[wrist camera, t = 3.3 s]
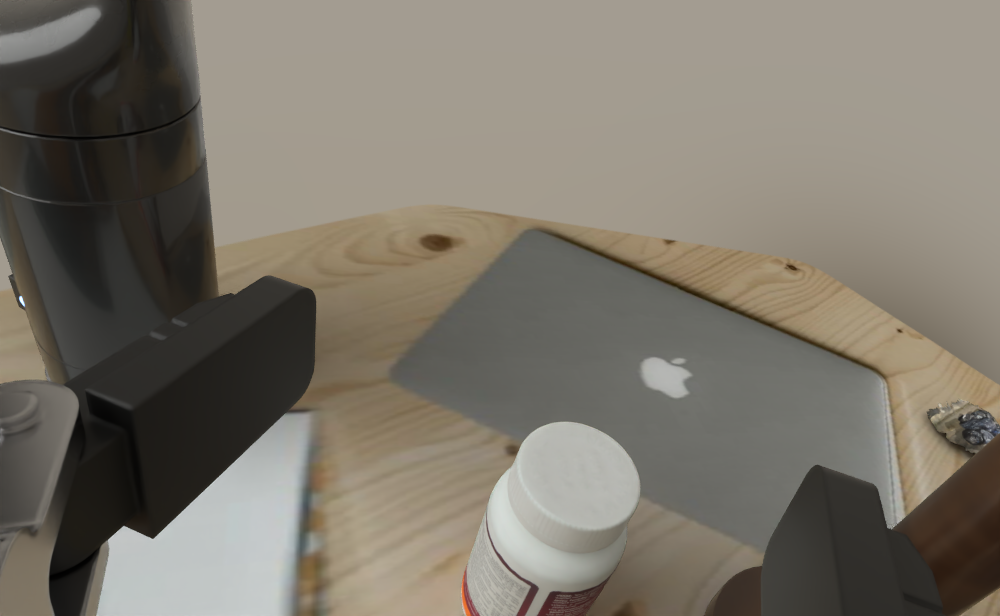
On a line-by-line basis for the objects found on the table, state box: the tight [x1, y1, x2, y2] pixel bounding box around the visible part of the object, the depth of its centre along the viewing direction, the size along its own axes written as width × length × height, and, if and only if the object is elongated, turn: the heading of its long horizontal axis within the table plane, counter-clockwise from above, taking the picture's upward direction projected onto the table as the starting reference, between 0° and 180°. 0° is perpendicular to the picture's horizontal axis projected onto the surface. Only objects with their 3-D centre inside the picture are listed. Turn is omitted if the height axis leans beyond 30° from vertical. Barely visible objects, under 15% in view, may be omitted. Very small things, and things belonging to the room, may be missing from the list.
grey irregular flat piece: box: [927, 399, 1000, 453], centre depth 50 cm, size 7×8×2 cm
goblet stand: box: [704, 433, 1000, 616], centre depth 26 cm, size 10×10×24 cm
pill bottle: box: [461, 422, 641, 616], centre depth 29 cm, size 6×6×11 cm
